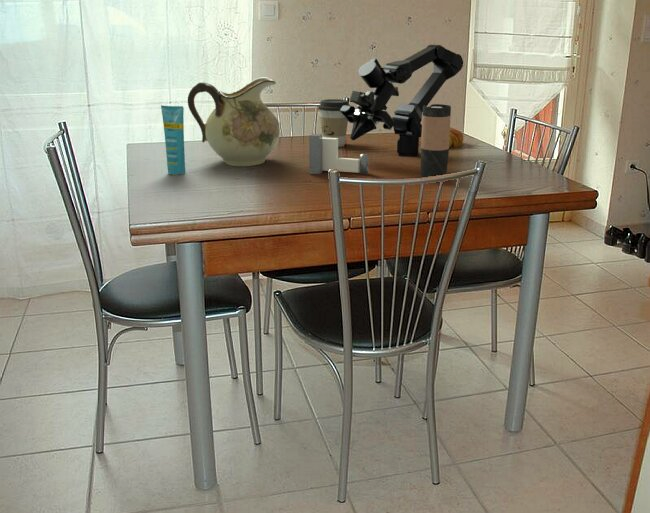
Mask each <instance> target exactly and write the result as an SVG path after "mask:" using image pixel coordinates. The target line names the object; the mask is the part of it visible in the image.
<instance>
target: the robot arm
mask: <svg viewBox="0 0 650 513" xmlns="http://www.w3.org/2000/svg"><path fill="white" fill-rule="evenodd" d="M430 63H432V64H433V72H432V73H431V74H430V76H429V77H428V79H427V80H426V81H425V82H424V84H423V85H422V86H421V88H420V89H418V91H417V93H416V94H415V96H414V97H413V98H412V99H411V100H410V101H409V103H400V104H399V105H398V107H397V109H396V110H395V111H393V116H391V115H390V114H389V113H388V111H387V109H388V107H387V104H388V102H389V101H390V99H391V98H392V96H393V97H399V96H400V92H399V87H398V86H395V85H394V84H399V85H400V84H405V83H406V82H407V81H408V80H409V79H410V78H411V77H412V75H413V74H414V73H415V72H417V70H420V69H421V68H423V67H425V66H426V65H428V64H430ZM463 67H464V60H463V57H462V55H461V54H459V53H456V52H453V51H451V50H449V49H447V48H446V47H444V46H443V45H442V44H432V43H431V44H428V45H427V46H426V47H425V48H423V49H422V50H419V51H417V52H416V53H414V54H412V55H411V56H408V57H406V58H405V59H402V60H397V61H392V62H388V63H386V64H385V65H384V66H383V67H382V66H381V64H380V62H379V60H378V59H377V58H371V59H370V60H368V61H366V62H365V63H364V64H363V65H361V66H360V67H359V69H358V75H359V76H360V77H361V79H362V80H363V82H364V83H365V84H366V86H367V87H368V88H370V89H373V90H372V91H370V90H367V91H366V92H362V91H357V90H352V92H351V93H350V98H349V100H348V102H350V103H352V104H355V105H356V107H355V106H354V105H351V106H349V105H350V104H349V105H343V106H342V108H341V109H340V112H341V113H342V115H343V116H344V117H345V118H346V119H347V121H348V123H349V124H352V130H351V135H350V137H349V138H350V139H351V141H355V140H358V139H359V138H361V137H362V136H364V135H366V134H367V133H369V132H373V130H377V129H378V128H377V125H378V124H379V123H383V125H382V128H383V129H384V130H389V131H391V130H392V129H393V131H394V135H398V138H397V139H396V153H397V155H398V156H400V157H401V156H405V157H406V156H408V157H410V156H412V157H414V156H416V157H418V156H419V155H420V153H419V150H420V146H419V145H420V144H419V143H420V138H421V135H422V117H423V106H424V105H425V106H426V107H428V105H429V104H430V103H431V101H432V100H433V99H434V97H435V96H436V94H438V92H439V90H440V89H441V88H442V86H443V85H444V83H445V82H446V81H447V80H450V79H452V78H453V77H455V76H457V74H459V72H460V71H462V69H463Z"/></svg>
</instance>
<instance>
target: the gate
mask: <svg viewBox="0 0 650 513" xmlns="http://www.w3.org/2000/svg"><path fill="white" fill-rule="evenodd" d="M329 169H337V170H339V171H338V172H347V173H360V158H353V157H352V158H351V157H339V147H338V138H325V137H322V171H327V172H329V171H328V170H329Z"/></svg>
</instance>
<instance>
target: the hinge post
mask: <svg viewBox="0 0 650 513" xmlns="http://www.w3.org/2000/svg"><path fill="white" fill-rule="evenodd" d="M359 159H360V171H359V174H360V175H368V174H369V161H370V160H369V153H361V154H359Z"/></svg>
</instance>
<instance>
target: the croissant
mask: <svg viewBox="0 0 650 513" xmlns="http://www.w3.org/2000/svg"><path fill="white" fill-rule="evenodd" d="M463 141H464V135H463V133H462V132H461V131H460V130H458V129H456V128H453V127H451V126H450V138H449V149H457V148H458V147H460V146H461V145H462V144H463ZM451 147H452V148H451Z"/></svg>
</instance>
